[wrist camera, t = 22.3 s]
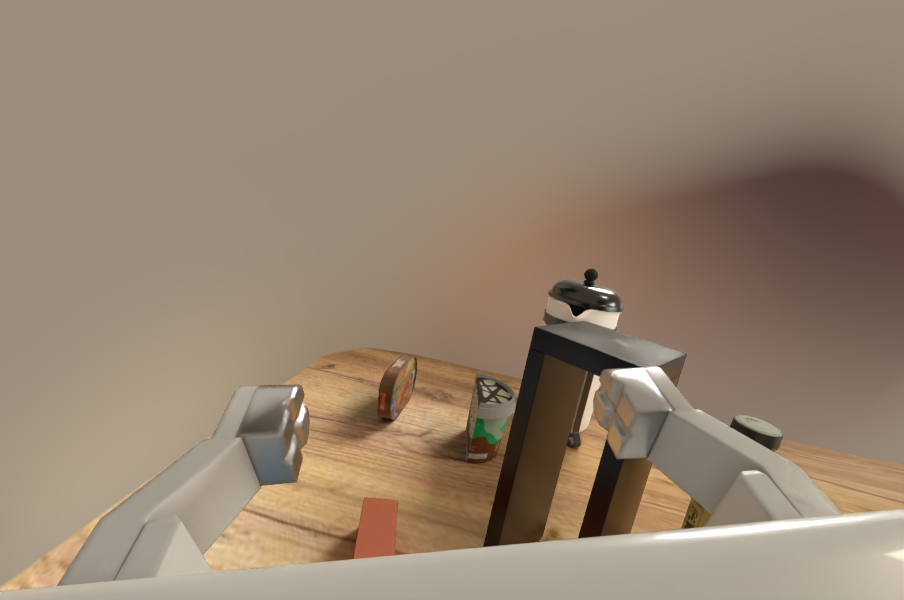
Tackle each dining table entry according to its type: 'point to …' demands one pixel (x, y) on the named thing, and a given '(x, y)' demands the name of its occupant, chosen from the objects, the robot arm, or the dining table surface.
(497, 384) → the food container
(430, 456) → the dining table surface
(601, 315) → the coffee press
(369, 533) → the terracotta bar
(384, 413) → the tin
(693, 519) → the sauce bottle
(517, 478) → the frame
